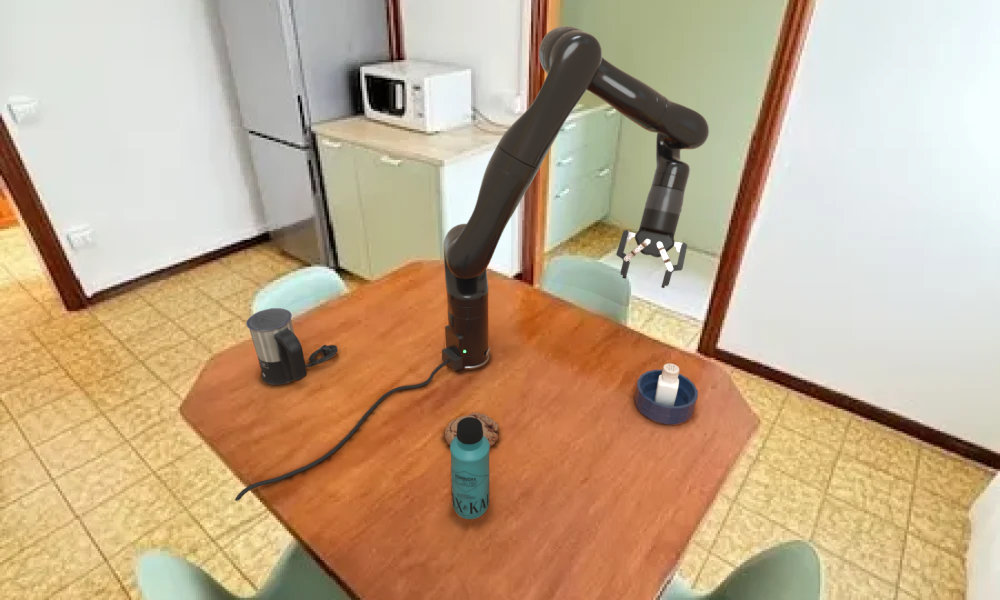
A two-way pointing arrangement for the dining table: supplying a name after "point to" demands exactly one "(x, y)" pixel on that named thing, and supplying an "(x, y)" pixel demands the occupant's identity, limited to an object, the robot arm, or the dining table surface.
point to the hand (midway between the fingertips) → (643, 282)
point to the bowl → (665, 413)
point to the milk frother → (281, 347)
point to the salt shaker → (667, 385)
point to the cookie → (487, 424)
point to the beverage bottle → (470, 469)
